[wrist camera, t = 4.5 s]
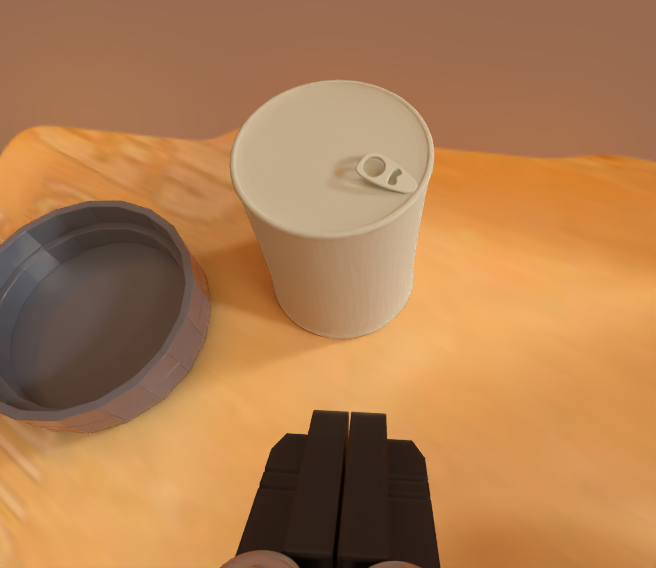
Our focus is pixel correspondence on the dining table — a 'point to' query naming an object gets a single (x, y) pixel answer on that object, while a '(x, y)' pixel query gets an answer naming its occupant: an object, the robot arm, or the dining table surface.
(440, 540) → the dining table surface
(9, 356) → the pan
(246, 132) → the can
